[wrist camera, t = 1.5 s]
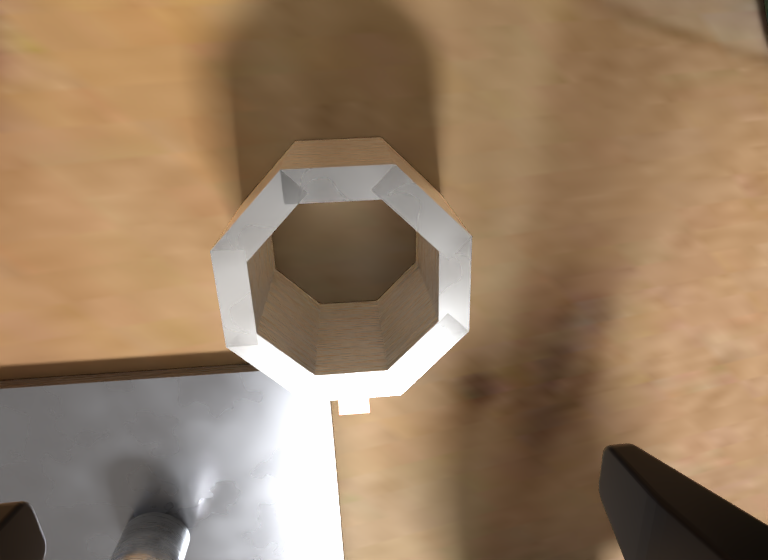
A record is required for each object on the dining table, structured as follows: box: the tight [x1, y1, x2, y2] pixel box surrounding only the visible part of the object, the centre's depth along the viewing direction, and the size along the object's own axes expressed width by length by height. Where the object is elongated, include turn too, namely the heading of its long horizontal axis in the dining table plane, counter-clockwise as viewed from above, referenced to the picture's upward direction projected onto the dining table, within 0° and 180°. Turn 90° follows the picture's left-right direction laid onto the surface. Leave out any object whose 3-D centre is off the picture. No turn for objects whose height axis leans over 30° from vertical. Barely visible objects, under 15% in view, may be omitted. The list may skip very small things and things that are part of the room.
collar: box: [210, 137, 472, 415], centre depth 18 cm, size 7×8×5 cm
